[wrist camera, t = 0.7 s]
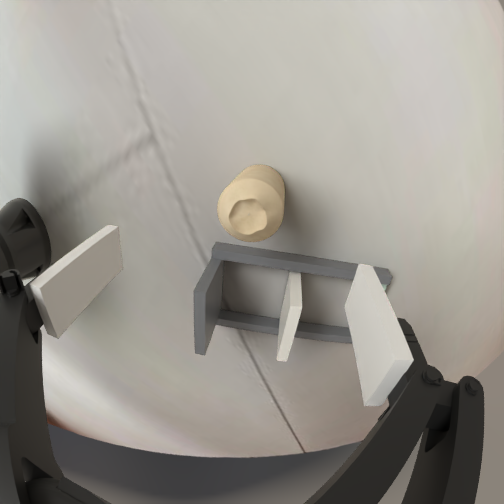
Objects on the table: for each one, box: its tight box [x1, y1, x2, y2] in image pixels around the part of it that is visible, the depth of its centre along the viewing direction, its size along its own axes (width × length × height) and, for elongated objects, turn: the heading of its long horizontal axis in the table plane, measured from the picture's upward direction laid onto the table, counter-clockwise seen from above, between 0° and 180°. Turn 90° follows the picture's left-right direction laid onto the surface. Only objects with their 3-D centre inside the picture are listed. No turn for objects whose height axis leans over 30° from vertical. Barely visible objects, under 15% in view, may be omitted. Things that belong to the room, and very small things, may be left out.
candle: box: [217, 165, 285, 242], centre depth 26 cm, size 6×6×10 cm
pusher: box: [276, 271, 302, 362], centre depth 32 cm, size 1×8×8 cm, turn 173°
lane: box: [194, 242, 392, 355], centre depth 32 cm, size 22×11×9 cm, turn 84°
